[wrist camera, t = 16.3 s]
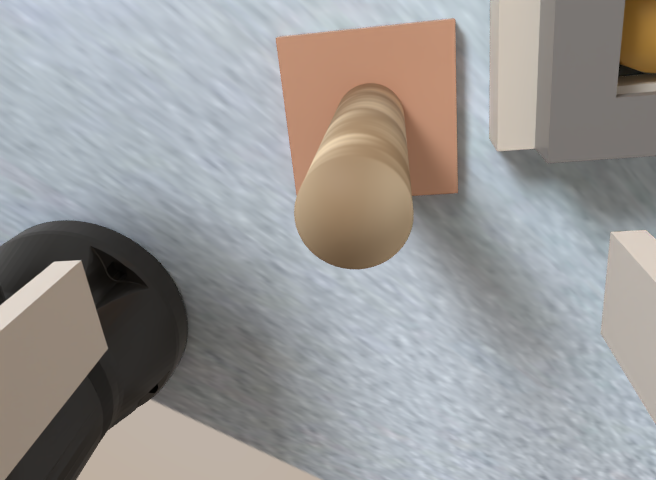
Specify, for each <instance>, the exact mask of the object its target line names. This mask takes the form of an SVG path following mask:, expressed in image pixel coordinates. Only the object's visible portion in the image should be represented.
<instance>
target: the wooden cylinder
mask: <svg viewBox="0 0 656 480" xmlns="http://www.w3.org/2000/svg"><path fill="white" fill-rule="evenodd" d="M294 216H295V223H296V227H297V230H298V233H299V235H300V237H301V239H302V241H303V242H304V244H305V245H306V246H307V247H308V249H309V250H310V251H311V252H312V253H313V254H315V255H316V256H317V257H318V258H320V259H321V260H323V261H325V262H327V263H329V264H331V265H334V266H337V267H341V268H346V269H365V268H370V267H374V266H376V265H379V264H381V263H383V262H385V261H387V260H389V259H390V258H391V257H393V256H394V255H395V254H396V253H397V252H398V251H399V250H400V249H401V248H402V247H403V245H404V244H405V242H406V241H407V239H408V237H409V235H410V232H411V229H412V225H413V202H412V191H411V181H410V170H409V160H408V149H407V139H406V128H405V118H404V110H403V106H402V103H401V101H400V100H399V98H398V97H397V95H396V94H395V93H394V92H393V91H392V90H390V89H389V88H387V87H385V86H383V85H380V84H375V83H366V84H361V85H358V86H356V87H354V88H352V89H351V90H350V91H348V92H347V93H346V94H345V95H344V97H343V98H342V99H341V101H340V103H339V105H338V108H337V110H336V112H335V114H334V116H333V118H332V120H331V123H330V125H329V127H328V129H327V131H326V133H325V136H324V138H323V140H322V142H321V144H320V146H319V149H318V151H317V153H316V155H315V157H314V159H313V161H312V164H311V166H310V168H309V170H308V172H307V174H306V177H305V179H304V181H303V183H302V185H301V187H300V190H299V192H298V195H297V197H296V202H295V209H294Z"/></svg>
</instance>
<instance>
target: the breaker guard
mask: <svg viewBox="0 0 656 480" xmlns="http://www.w3.org/2000/svg"><path fill="white" fill-rule="evenodd" d="M624 8H625V0H490V85H489V139H490V141H491V142H492V144H493V145H494V147H495V148H496V150H497V151H509V150H522V149H536V151H537V152H538V153H539V154H540V155H541V156H542V157H543V159H544V160H545V161H546V162H547V163H559V162H574V161H588V160H603V159H617V158H631V157H646V156H656V73H652V74H640V75H629V76H618V72H619V62H620V51H621V40H622V29H623V19H624Z"/></svg>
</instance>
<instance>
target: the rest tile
mask: <svg viewBox="0 0 656 480" xmlns="http://www.w3.org/2000/svg"><path fill="white" fill-rule="evenodd" d="M276 44H277V51H278V59H279V66H280V74H281V81H282V89H283V97H284V104H285V112H286V119H287V127H288V134H289V142H290V149H291V157H292V164H293V172H294V179H295V187H296V194H297V195H298V192H299V190H300V187H301V185H302V183H303V181H304V179H305V177H306V174H307V172H308V170H309V168H310V166H311V164H312V161H313V159H314V157H315V155H316V153H317V151H318V149H319V146H320V144H321V142H322V140H323V138H324V136H325V133H326V131H327V129H328V127H329V125H330V123H331V120H332V118H333V116H334V114H335V112H336V110H337V108H338V105H339V103H340V101H341V99H342V98H343V97H344V95H345V94H346V93H347V92H348V91H350V90H351V89H352V88H354V87H356V86H358V85H361V84H366V83H375V84H380V85H383V86H385V87H387V88H389V89H390V90H392V91H393V92H394V93H395V94H396V95H397V97H398V98H399V100H400V101H401V103H402V106H403V110H404V118H405V128H406V139H407V149H408V160H409V170H410V181H411V191H412V196H418V195H434V194H450V193H458V175H457V112H456V48H455V19H454V18H451V19H442V20H432V21H423V22H413V23H404V24H394V25H385V26H375V27H366V28H356V29H347V30H337V31H328V32H318V33H308V34H299V35H289V36H280V37H277V38H276Z"/></svg>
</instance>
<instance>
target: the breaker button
mask: <svg viewBox="0 0 656 480" xmlns="http://www.w3.org/2000/svg"><path fill="white" fill-rule="evenodd" d="M619 64H620V65H623V66H626V67H629V68H632V69H635V70H638V71H641V72H645V73H656V0H625V8H624V19H623V29H622V40H621V51H620V62H619Z"/></svg>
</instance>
